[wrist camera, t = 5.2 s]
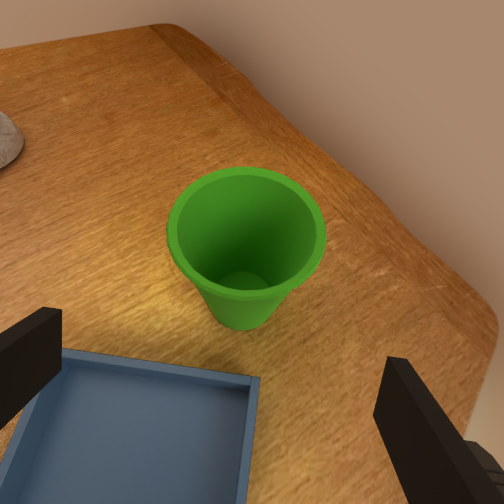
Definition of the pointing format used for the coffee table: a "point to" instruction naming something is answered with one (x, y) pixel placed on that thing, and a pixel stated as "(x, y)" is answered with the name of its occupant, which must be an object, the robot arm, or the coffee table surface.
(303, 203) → the cup
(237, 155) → the coffee table surface
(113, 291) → the coffee table surface
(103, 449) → the blue tray
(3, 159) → the sculpture
